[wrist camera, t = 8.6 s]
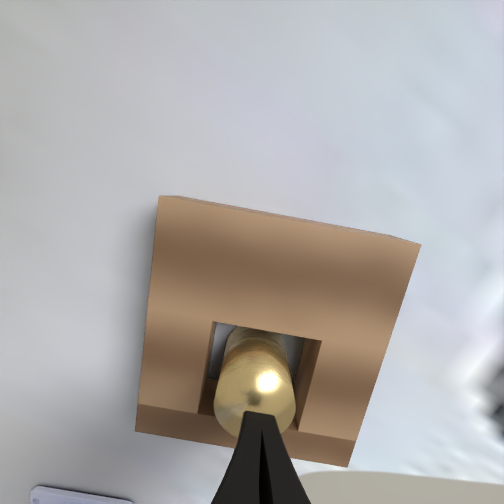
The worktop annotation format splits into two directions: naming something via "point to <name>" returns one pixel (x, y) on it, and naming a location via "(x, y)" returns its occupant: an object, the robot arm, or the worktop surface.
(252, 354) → the gold rounded cylinder
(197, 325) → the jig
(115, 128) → the worktop surface
